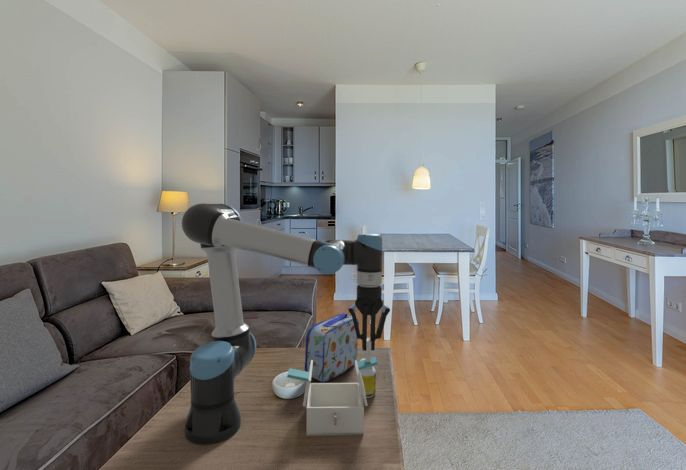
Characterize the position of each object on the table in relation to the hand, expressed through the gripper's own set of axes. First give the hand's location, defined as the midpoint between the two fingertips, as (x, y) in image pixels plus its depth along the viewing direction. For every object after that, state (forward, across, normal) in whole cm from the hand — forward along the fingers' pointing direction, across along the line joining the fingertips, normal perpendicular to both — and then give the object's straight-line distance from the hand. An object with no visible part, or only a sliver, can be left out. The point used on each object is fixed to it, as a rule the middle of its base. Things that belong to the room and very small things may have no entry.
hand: (368, 360), depth 108 cm
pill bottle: (+17, +1, +12) cm, 21 cm away
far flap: (+5, -3, -4) cm, 7 cm away
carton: (+17, -10, -5) cm, 20 cm away
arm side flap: (+5, -18, -4) cm, 19 cm away
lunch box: (+17, -10, +28) cm, 35 cm away
